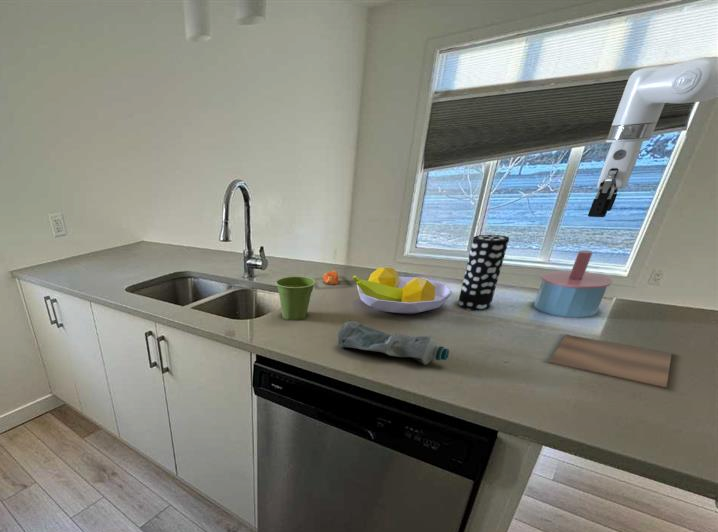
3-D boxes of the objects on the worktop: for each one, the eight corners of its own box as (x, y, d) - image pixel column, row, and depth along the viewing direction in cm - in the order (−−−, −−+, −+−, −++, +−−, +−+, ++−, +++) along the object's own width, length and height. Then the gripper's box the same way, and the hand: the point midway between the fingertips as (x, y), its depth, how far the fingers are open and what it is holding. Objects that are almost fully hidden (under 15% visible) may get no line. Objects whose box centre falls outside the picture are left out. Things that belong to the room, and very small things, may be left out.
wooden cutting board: (565, 337, 99) (566, 334, 99) (670, 357, 88) (671, 353, 87) (548, 364, 89) (549, 361, 89) (664, 390, 77) (666, 387, 77)
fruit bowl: (434, 293, 134) (442, 258, 128) (457, 323, 112) (466, 283, 106) (346, 293, 141) (349, 260, 135) (350, 322, 119) (354, 284, 113)
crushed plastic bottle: (328, 352, 103) (432, 379, 86) (331, 325, 99) (439, 348, 83) (353, 339, 111) (453, 361, 94) (356, 313, 108) (460, 332, 91)
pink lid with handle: (546, 272, 119) (556, 243, 115) (614, 279, 109) (627, 248, 105) (534, 285, 110) (544, 254, 106) (606, 294, 101) (620, 261, 96)
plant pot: (298, 327, 119) (299, 289, 113) (267, 318, 127) (267, 283, 121) (321, 315, 125) (324, 279, 119) (291, 307, 133) (291, 273, 127)
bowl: (539, 299, 122) (549, 271, 118) (599, 307, 113) (612, 277, 109) (528, 312, 114) (538, 283, 110) (591, 322, 105) (604, 291, 101)
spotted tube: (484, 314, 116) (503, 242, 106) (452, 308, 121) (468, 239, 111) (493, 305, 120) (513, 236, 110) (463, 300, 126) (479, 233, 116)
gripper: (649, 134, 85) (614, 220, 94) (656, 130, 95) (623, 209, 104) (602, 137, 90) (573, 218, 99) (613, 133, 100) (585, 208, 108)
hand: (599, 213), depth 101 cm, fingers open, 9 cm apart
